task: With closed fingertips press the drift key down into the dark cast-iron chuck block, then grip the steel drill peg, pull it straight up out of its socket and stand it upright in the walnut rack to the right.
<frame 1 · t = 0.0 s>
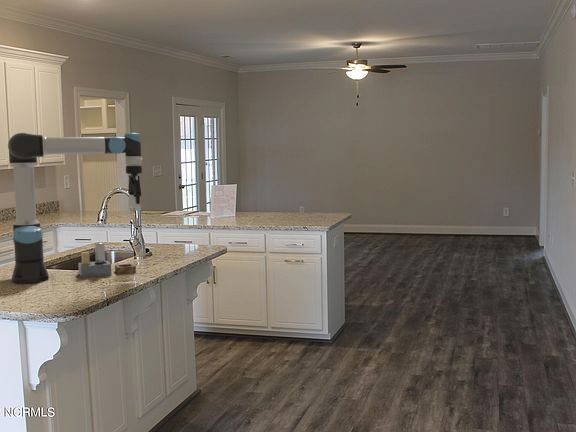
hand: (135, 209, 324), 28 cm above the counter, fingers open, 13 cm apart
chuck block: (95, 276, 302), on the counter
drift key: (85, 260, 299), point 8 cm above the counter, slide at 0.0 cm
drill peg: (101, 274, 303), point 1 cm above the counter, touching chuck block
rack: (125, 274, 307), on the counter
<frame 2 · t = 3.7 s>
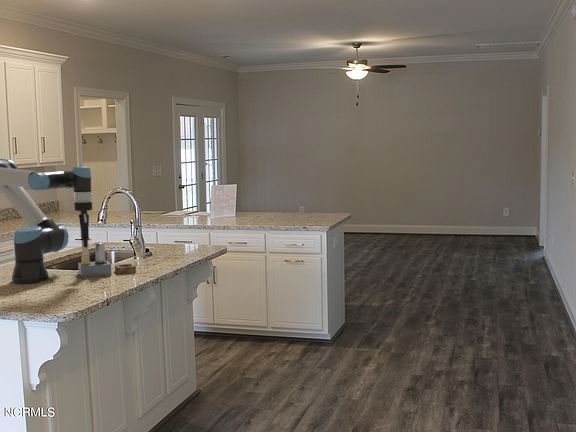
hand: (85, 254, 299), 11 cm above the counter, fingers closed
drift key: (85, 262, 299), point 7 cm above the counter, slide at 1.0 cm, touching gripper
everything else where it was.
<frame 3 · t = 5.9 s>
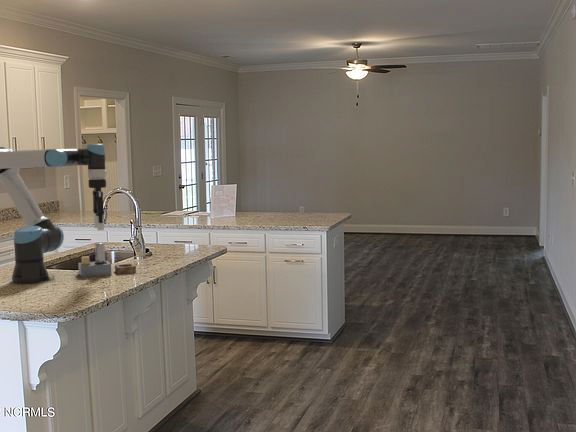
hand: (99, 228, 300), 22 cm above the counter, fingers open, 9 cm apart
drift key: (85, 264, 300), point 6 cm above the counter, slide at 2.0 cm
everything else where it was.
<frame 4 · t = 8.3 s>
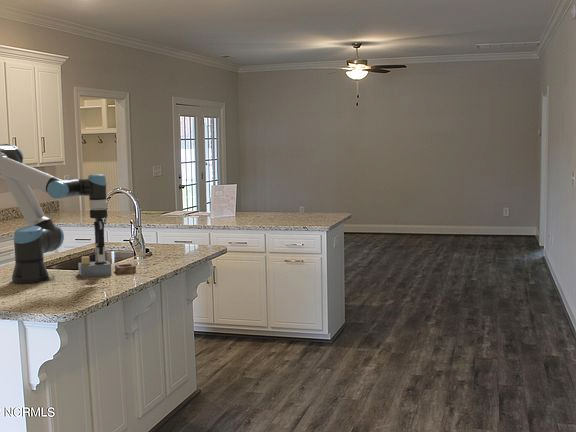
hand: (100, 260, 302), 7 cm above the counter, fingers closed on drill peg, 4 cm apart
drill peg: (100, 274, 303), point 1 cm above the counter, touching chuck block, gripper
everything else where it was.
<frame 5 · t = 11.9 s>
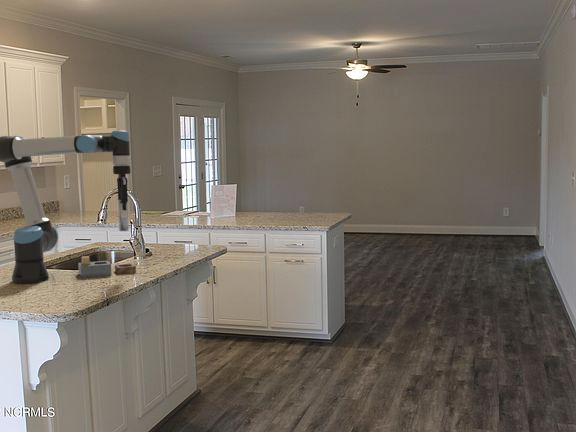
hand: (123, 216, 304), 26 cm above the counter, fingers closed on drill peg, 4 cm apart
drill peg: (123, 230, 305), point 20 cm above the counter, touching gripper
everything else where it was.
when the fingers open (9 cm above the counter, at t = 15.4 s): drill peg drops 1 cm, resting on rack.
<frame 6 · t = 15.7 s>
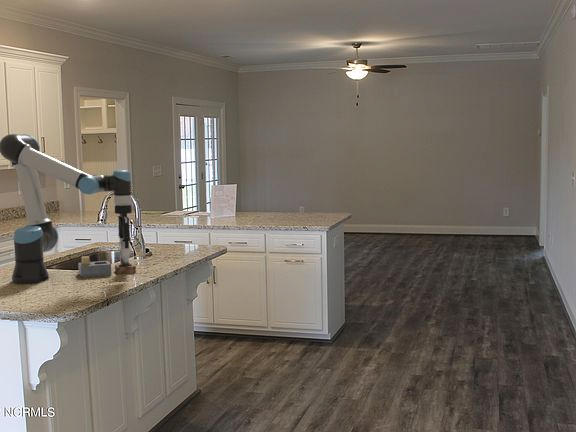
hand: (124, 253, 306), 9 cm above the counter, fingers open, 9 cm apart
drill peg: (125, 271, 307), point 1 cm above the counter, touching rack
everything else where it was.
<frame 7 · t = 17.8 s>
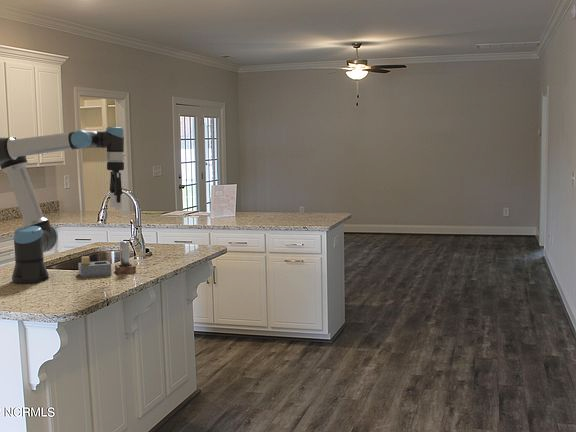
hand: (115, 208, 304), 30 cm above the counter, fingers open, 13 cm apart
nothing on the counter moved.
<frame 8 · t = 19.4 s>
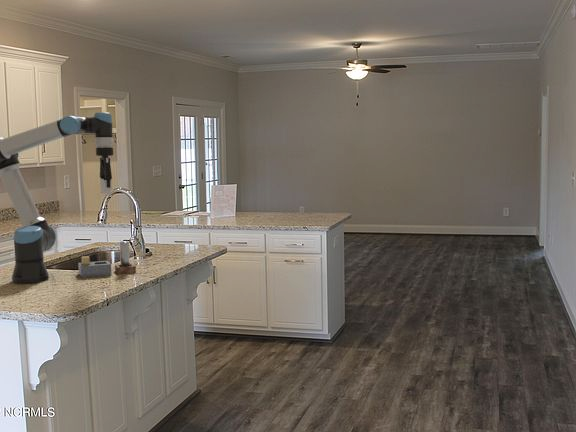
hand: (106, 194, 305), 37 cm above the counter, fingers open, 13 cm apart
nothing on the counter moved.
at the end: drift key slide at 2.0 cm; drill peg 0.0 cm off-centre on the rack, point 1.0 cm above the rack's base; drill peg tilted 0° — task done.
